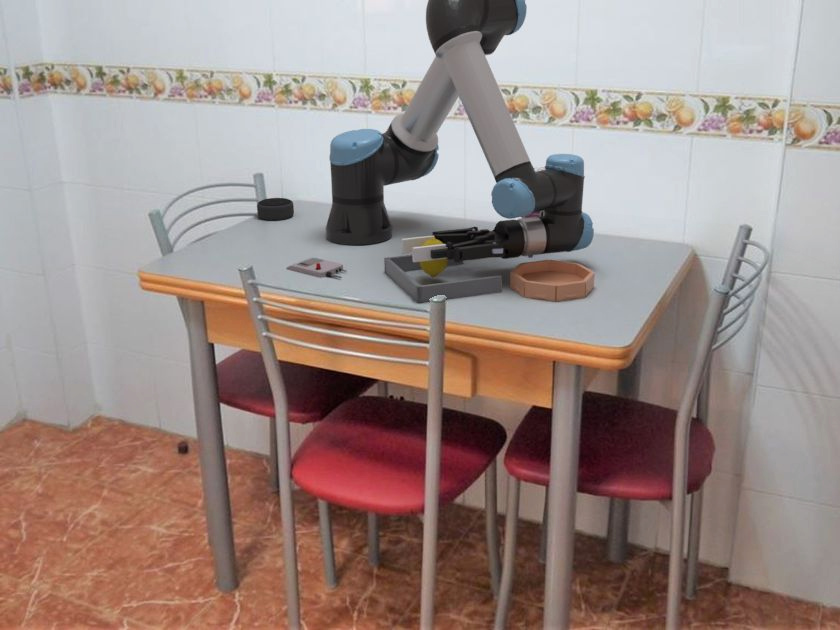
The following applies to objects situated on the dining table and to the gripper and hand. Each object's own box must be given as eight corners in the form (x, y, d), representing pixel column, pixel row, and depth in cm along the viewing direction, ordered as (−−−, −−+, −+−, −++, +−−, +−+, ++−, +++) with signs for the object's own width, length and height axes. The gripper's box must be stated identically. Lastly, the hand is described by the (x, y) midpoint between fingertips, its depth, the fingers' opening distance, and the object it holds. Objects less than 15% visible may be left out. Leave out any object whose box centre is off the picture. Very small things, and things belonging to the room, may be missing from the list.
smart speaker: (264, 212, 234) (263, 196, 233) (298, 213, 233) (297, 197, 232) (252, 221, 226) (251, 205, 225) (288, 222, 225) (287, 206, 223)
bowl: (499, 280, 182) (499, 265, 181) (567, 271, 186) (568, 256, 185) (534, 304, 169) (534, 289, 167) (606, 294, 173) (607, 279, 172)
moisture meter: (302, 262, 196) (301, 248, 195) (358, 275, 187) (358, 261, 186) (280, 270, 191) (278, 256, 190) (336, 284, 182) (335, 269, 181)
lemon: (448, 281, 178) (448, 241, 175) (419, 282, 178) (418, 241, 175) (447, 272, 183) (447, 233, 180) (419, 273, 183) (418, 233, 180)
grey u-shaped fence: (384, 272, 187) (384, 257, 186) (461, 262, 193) (461, 248, 192) (417, 302, 170) (417, 287, 169) (501, 291, 175) (501, 276, 174)
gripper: (538, 269, 177) (424, 284, 170) (498, 243, 193) (392, 255, 186) (540, 231, 175) (424, 244, 167) (499, 208, 191) (392, 219, 183)
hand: (407, 250), depth 177 cm, fingers closed on lemon, 5 cm apart
